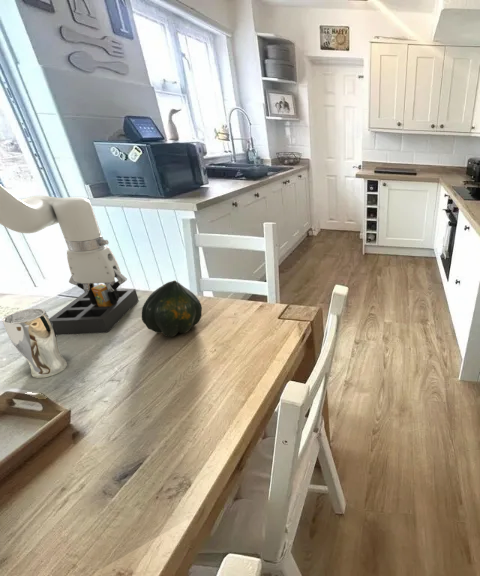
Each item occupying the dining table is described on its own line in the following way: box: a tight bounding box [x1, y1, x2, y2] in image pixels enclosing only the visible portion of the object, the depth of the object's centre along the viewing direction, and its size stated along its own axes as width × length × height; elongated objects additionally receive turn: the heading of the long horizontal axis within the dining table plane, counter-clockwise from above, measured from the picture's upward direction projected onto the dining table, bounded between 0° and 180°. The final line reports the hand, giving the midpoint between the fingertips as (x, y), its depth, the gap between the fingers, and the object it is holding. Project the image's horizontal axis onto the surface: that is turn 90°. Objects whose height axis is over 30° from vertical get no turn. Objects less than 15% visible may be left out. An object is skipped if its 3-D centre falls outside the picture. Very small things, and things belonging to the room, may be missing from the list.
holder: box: [49, 288, 140, 336], centre depth 97 cm, size 13×19×4 cm
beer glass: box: [2, 307, 68, 379], centre depth 74 cm, size 7×7×15 cm
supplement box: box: [91, 283, 113, 307], centre depth 97 cm, size 3×3×10 cm
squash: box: [141, 280, 203, 338], centre depth 93 cm, size 14×15×15 cm
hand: (105, 301), depth 97 cm, fingers closed on supplement box, 4 cm apart
